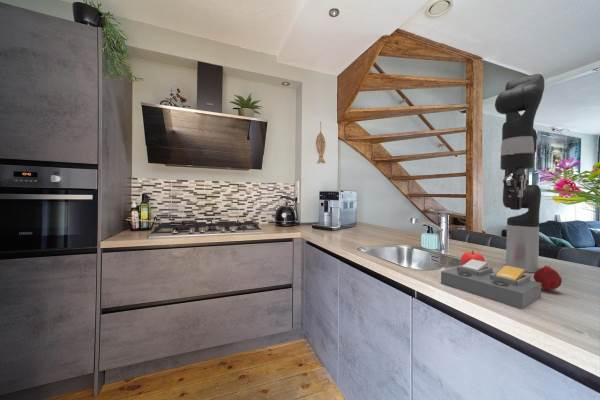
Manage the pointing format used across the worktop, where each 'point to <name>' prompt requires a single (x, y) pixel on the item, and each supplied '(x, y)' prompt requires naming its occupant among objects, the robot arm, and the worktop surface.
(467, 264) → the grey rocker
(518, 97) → the robot arm
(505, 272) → the amber rocker
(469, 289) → the grey flat block
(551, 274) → the red rounded lump
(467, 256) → the apple
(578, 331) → the worktop surface
